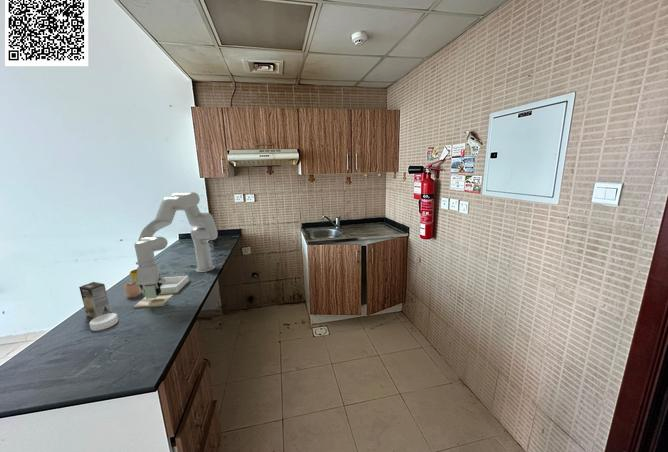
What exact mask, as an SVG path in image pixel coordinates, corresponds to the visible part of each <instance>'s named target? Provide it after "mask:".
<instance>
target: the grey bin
mask: <svg viewBox="0 0 668 452" xmlns="http://www.w3.org/2000/svg"><path fill="white" fill-rule="evenodd" d="M163 278H164V279H165V280H166V281H165V282H164V283H163V284H162V285H161V286H160V288H161V294H160V295H166V294H178V292H179V291H181V289H182V288H183V287H185V286H186V285H187V284H188V283H189V281H190V280H189V279H190V278H189V275H180V276H179V275H178V276H168V277H167V276H166V277H163ZM159 282H161V281H159Z"/></svg>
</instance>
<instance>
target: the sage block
mask: <svg viewBox="0 0 668 452" xmlns="http://www.w3.org/2000/svg"><path fill="white" fill-rule="evenodd" d="M144 291H145V293H144V295H145V296H144V297H146V299H150V298H157V297H158V296H159V295H162V294H161V293H160V294H159V295H157V294H156V286H155V285H154V284H151V285H146V286H144V290H143V292H144Z"/></svg>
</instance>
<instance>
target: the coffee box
mask: <svg viewBox="0 0 668 452" xmlns="http://www.w3.org/2000/svg"><path fill="white" fill-rule="evenodd" d="M78 288H79V292H80V297H81V299H82V303H83V307H84V312H85V314H86V317H88V318H89V317H90V318H92V319H94V318H96V317H98V316H101V315H104V314H108V313H111V306H110V302H109V299H108V294H107V289H106V285H105V283H102V282H96V281H92V282H89V283H87V284H84V285H81V286H79V287H78Z"/></svg>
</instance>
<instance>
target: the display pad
mask: <svg viewBox="0 0 668 452" xmlns="http://www.w3.org/2000/svg"><path fill="white" fill-rule="evenodd" d="M174 294H175V293H170V294H160V295H159V296H158V297H157V298H150V299H146V296H144V297H143V298H141V300H139V301H138V302H137V303H136V304H134V305H133V307H132V308H133V309H143V308H152V307H154V308H155V307H164V306H165V305H166V304H167V302H168V301H169V300H170V299H171V298H172V296H174Z"/></svg>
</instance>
